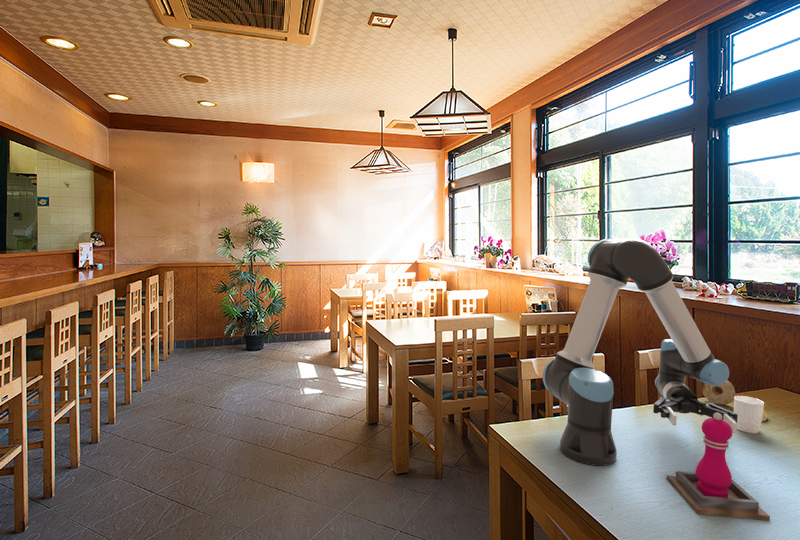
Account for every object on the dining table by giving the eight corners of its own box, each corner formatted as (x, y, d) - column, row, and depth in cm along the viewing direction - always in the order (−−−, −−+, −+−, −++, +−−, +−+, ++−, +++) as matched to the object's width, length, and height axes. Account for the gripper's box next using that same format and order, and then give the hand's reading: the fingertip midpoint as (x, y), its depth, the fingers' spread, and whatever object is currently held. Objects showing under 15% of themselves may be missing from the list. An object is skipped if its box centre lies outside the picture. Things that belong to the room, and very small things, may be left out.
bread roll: (734, 416, 159) (735, 405, 159) (741, 410, 165) (742, 400, 165) (763, 424, 153) (764, 413, 153) (770, 418, 158) (771, 407, 158)
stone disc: (700, 400, 174) (701, 375, 174) (703, 398, 177) (705, 373, 176) (732, 408, 166) (734, 382, 165) (735, 406, 169) (737, 380, 168)
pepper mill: (696, 481, 113) (701, 404, 111) (731, 492, 108) (737, 412, 107) (692, 494, 107) (698, 413, 106) (729, 506, 103) (736, 421, 101)
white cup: (767, 435, 143) (769, 405, 143) (739, 433, 145) (741, 403, 144) (753, 425, 151) (755, 396, 150) (727, 423, 153) (729, 394, 152)
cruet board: (697, 513, 101) (698, 501, 101) (666, 478, 116) (667, 467, 116) (769, 520, 99) (770, 507, 99) (728, 483, 114) (729, 472, 114)
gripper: (726, 415, 133) (760, 446, 113) (634, 403, 141) (649, 430, 121) (728, 390, 133) (762, 417, 113) (635, 380, 140) (651, 403, 120)
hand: (704, 424), depth 116 cm, fingers open, 13 cm apart
